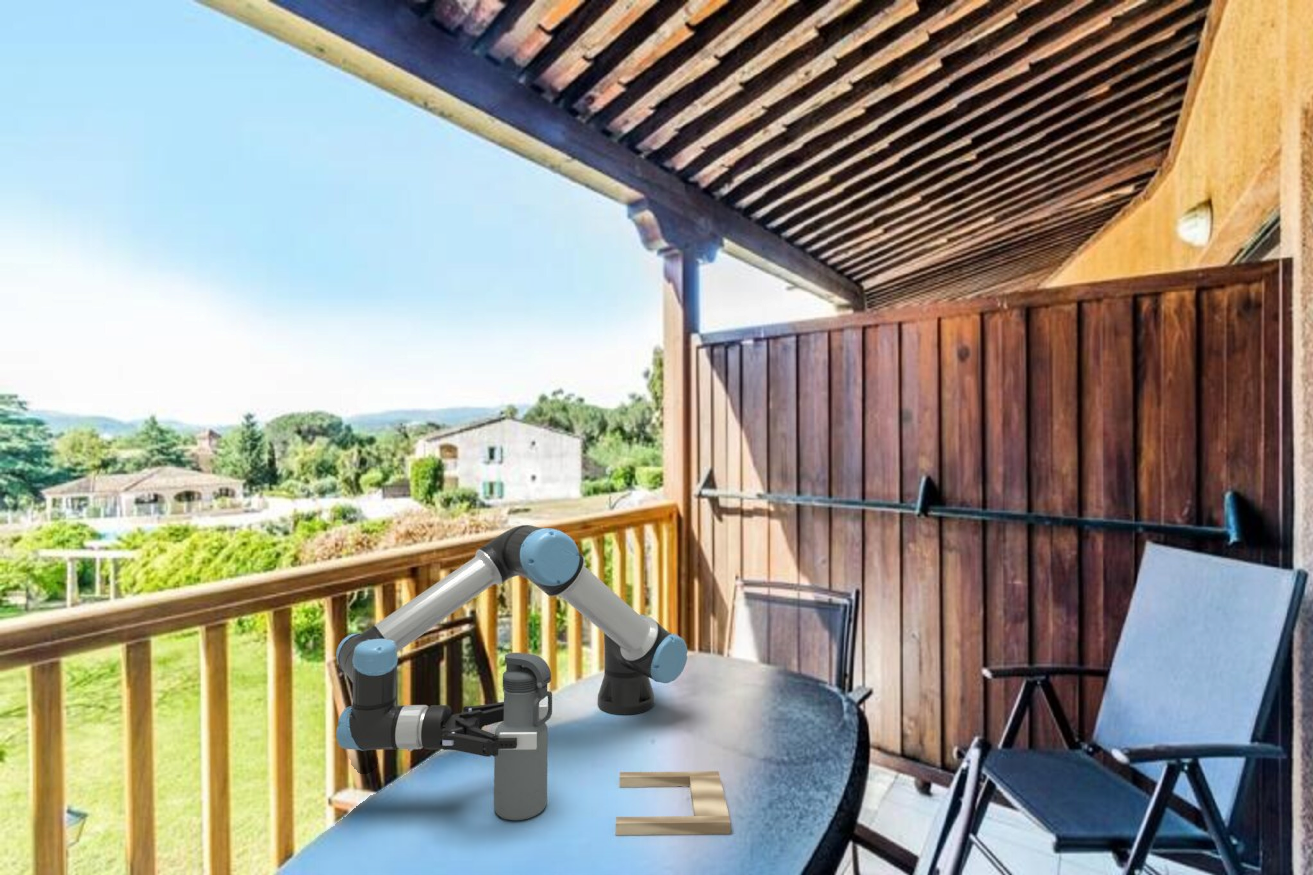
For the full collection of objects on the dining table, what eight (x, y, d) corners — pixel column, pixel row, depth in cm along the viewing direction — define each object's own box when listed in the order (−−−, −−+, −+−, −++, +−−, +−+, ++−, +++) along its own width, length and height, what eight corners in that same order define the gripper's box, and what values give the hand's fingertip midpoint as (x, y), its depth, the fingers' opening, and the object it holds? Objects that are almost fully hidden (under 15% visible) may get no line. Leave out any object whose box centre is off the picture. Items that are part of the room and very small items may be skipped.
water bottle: (558, 799, 120) (559, 651, 121) (532, 827, 111) (533, 667, 112) (512, 790, 123) (513, 646, 125) (483, 816, 114) (484, 661, 115)
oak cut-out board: (619, 782, 126) (619, 772, 127) (718, 781, 127) (718, 771, 127) (615, 835, 108) (615, 823, 109) (730, 833, 109) (730, 822, 109)
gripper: (446, 720, 129) (551, 720, 130) (401, 779, 105) (530, 778, 106) (446, 683, 130) (551, 683, 130) (401, 734, 106) (530, 733, 106)
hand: (542, 726), depth 118 cm, fingers open, 12 cm apart
